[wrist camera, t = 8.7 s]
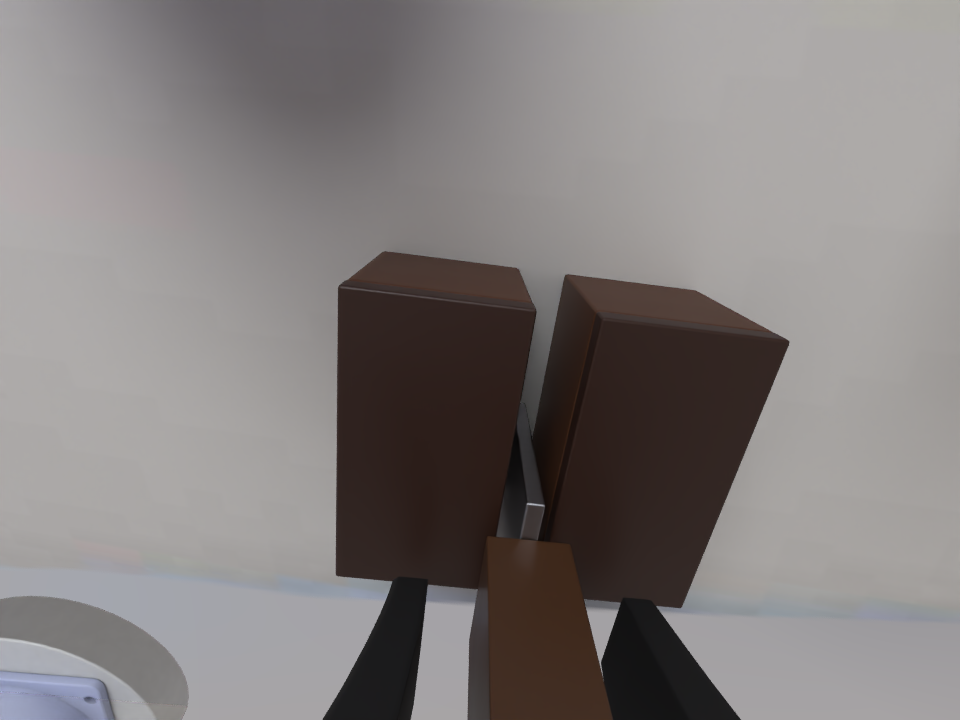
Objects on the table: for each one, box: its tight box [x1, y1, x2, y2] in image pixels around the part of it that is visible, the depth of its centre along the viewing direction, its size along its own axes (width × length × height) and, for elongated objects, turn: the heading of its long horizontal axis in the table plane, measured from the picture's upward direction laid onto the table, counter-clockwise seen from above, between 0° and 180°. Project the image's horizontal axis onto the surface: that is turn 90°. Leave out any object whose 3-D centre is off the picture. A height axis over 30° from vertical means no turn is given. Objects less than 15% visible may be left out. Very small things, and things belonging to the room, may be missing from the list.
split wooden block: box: [336, 251, 789, 608], centre depth 11 cm, size 7×8×4 cm
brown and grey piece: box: [468, 403, 613, 720], centre depth 10 cm, size 5×2×8 cm, turn 173°
